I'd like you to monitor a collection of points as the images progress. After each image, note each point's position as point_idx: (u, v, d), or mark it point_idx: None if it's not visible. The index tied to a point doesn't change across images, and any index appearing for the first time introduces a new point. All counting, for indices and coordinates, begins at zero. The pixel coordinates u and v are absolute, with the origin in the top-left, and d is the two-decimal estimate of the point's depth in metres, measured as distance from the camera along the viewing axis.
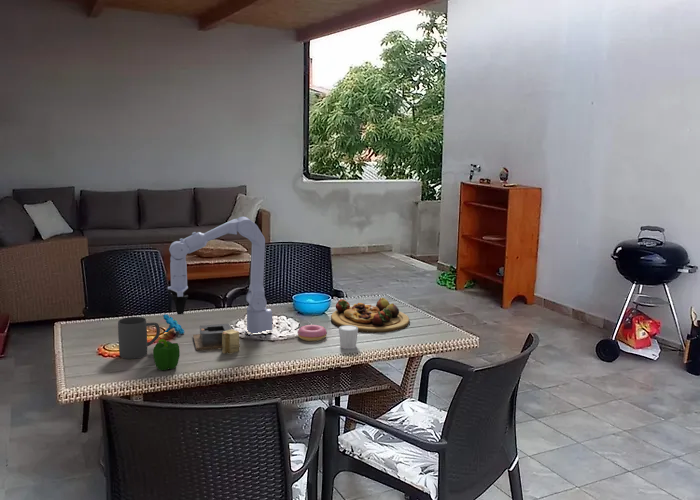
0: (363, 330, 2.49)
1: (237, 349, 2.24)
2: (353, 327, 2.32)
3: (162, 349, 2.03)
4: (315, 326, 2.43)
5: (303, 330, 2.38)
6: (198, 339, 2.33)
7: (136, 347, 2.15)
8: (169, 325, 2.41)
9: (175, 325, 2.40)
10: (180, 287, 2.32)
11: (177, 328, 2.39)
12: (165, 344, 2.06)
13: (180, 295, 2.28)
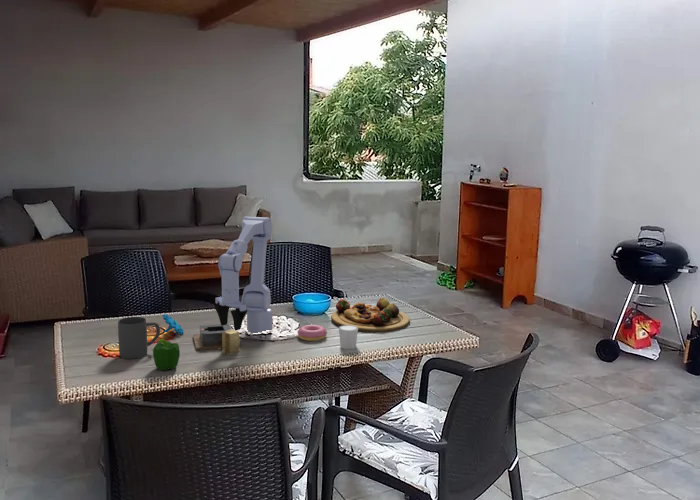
0: (363, 330, 2.49)
1: (237, 349, 2.24)
2: (353, 327, 2.32)
3: (162, 349, 2.03)
4: (315, 326, 2.43)
5: (303, 330, 2.38)
6: (198, 339, 2.33)
7: (136, 347, 2.15)
8: (169, 325, 2.41)
9: (175, 325, 2.40)
10: (236, 301, 2.20)
11: (176, 328, 2.39)
12: (165, 344, 2.06)
13: (243, 309, 2.17)
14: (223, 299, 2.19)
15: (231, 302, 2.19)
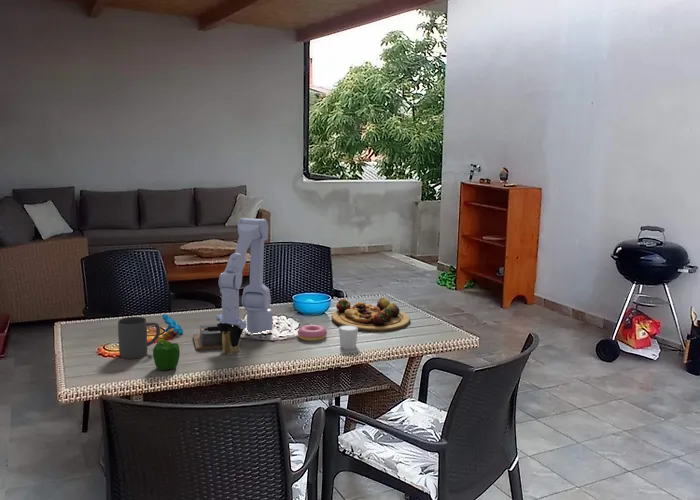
0: (363, 330, 2.49)
1: (237, 349, 2.24)
2: (353, 327, 2.32)
3: (162, 349, 2.03)
4: (315, 326, 2.43)
5: (303, 330, 2.38)
6: (198, 339, 2.33)
7: (136, 347, 2.15)
8: (168, 325, 2.41)
9: (174, 325, 2.40)
10: (236, 319, 2.21)
11: (176, 328, 2.39)
12: (165, 344, 2.06)
13: (244, 327, 2.18)
14: (223, 317, 2.21)
15: (231, 320, 2.20)
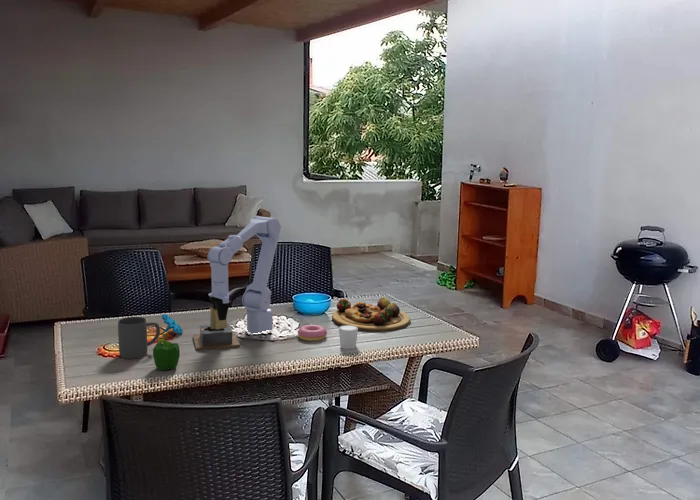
0: (363, 330, 2.50)
1: (224, 326, 2.28)
2: (353, 327, 2.32)
3: (162, 349, 2.03)
4: (315, 326, 2.43)
5: (303, 330, 2.38)
6: (198, 339, 2.33)
7: (136, 347, 2.15)
8: (168, 325, 2.42)
9: (173, 325, 2.40)
10: (223, 293, 2.25)
11: (175, 328, 2.39)
12: (165, 344, 2.06)
13: (226, 302, 2.21)
14: (212, 290, 2.26)
15: (218, 294, 2.25)
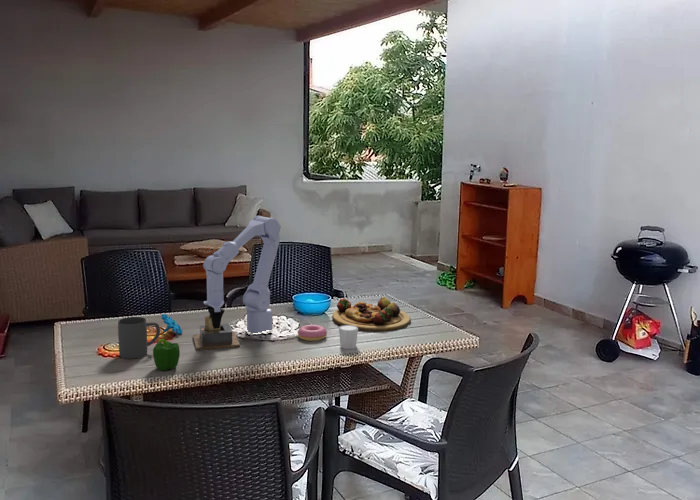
0: (364, 329, 2.50)
1: None
2: (353, 327, 2.32)
3: (162, 349, 2.03)
4: (315, 326, 2.43)
5: (303, 330, 2.38)
6: (198, 339, 2.33)
7: (136, 347, 2.15)
8: None
9: (173, 325, 2.40)
10: (217, 302, 2.29)
11: (175, 328, 2.39)
12: (165, 344, 2.06)
13: (217, 310, 2.25)
14: (207, 298, 2.30)
15: (211, 302, 2.28)
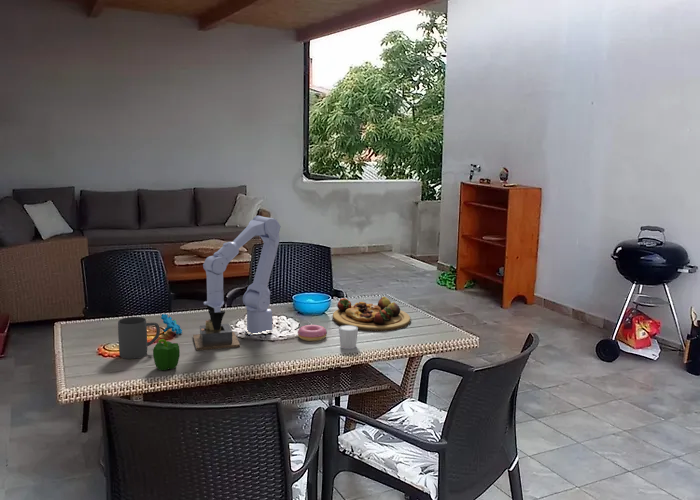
0: (364, 329, 2.50)
1: None
2: (353, 327, 2.32)
3: (162, 349, 2.03)
4: (315, 326, 2.43)
5: (303, 330, 2.38)
6: (198, 339, 2.33)
7: (136, 347, 2.15)
8: None
9: (173, 325, 2.40)
10: (217, 302, 2.29)
11: (174, 328, 2.39)
12: (165, 344, 2.06)
13: (217, 311, 2.25)
14: (207, 299, 2.30)
15: (211, 302, 2.28)
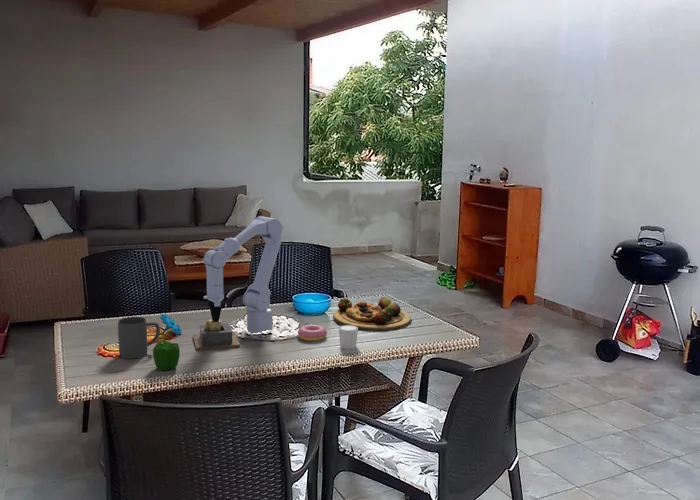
0: (364, 329, 2.51)
1: None
2: (353, 327, 2.32)
3: (162, 349, 2.03)
4: (315, 326, 2.43)
5: (303, 330, 2.38)
6: (198, 339, 2.33)
7: (136, 347, 2.15)
8: None
9: (172, 325, 2.40)
10: (217, 296, 2.28)
11: (173, 328, 2.39)
12: (165, 344, 2.06)
13: (217, 305, 2.24)
14: (207, 293, 2.30)
15: (211, 297, 2.28)
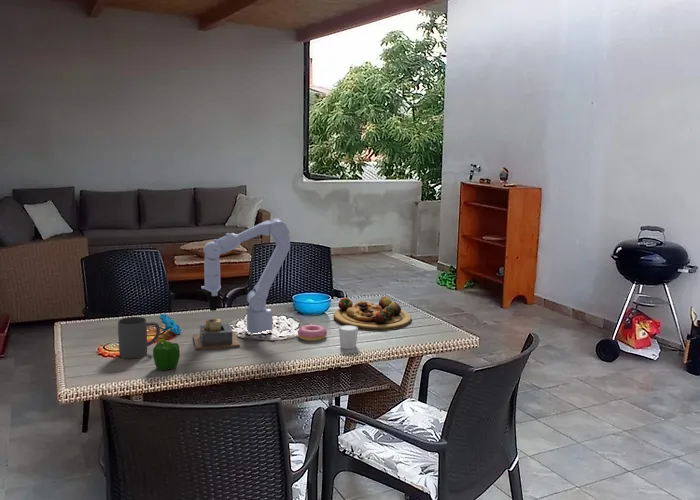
0: (365, 328, 2.52)
1: None
2: (353, 327, 2.32)
3: (162, 349, 2.03)
4: (315, 326, 2.43)
5: (303, 330, 2.38)
6: (198, 339, 2.33)
7: (136, 347, 2.15)
8: None
9: (171, 325, 2.40)
10: (214, 287, 2.36)
11: (172, 328, 2.39)
12: (165, 344, 2.06)
13: (214, 294, 2.32)
14: None
15: (209, 287, 2.36)
